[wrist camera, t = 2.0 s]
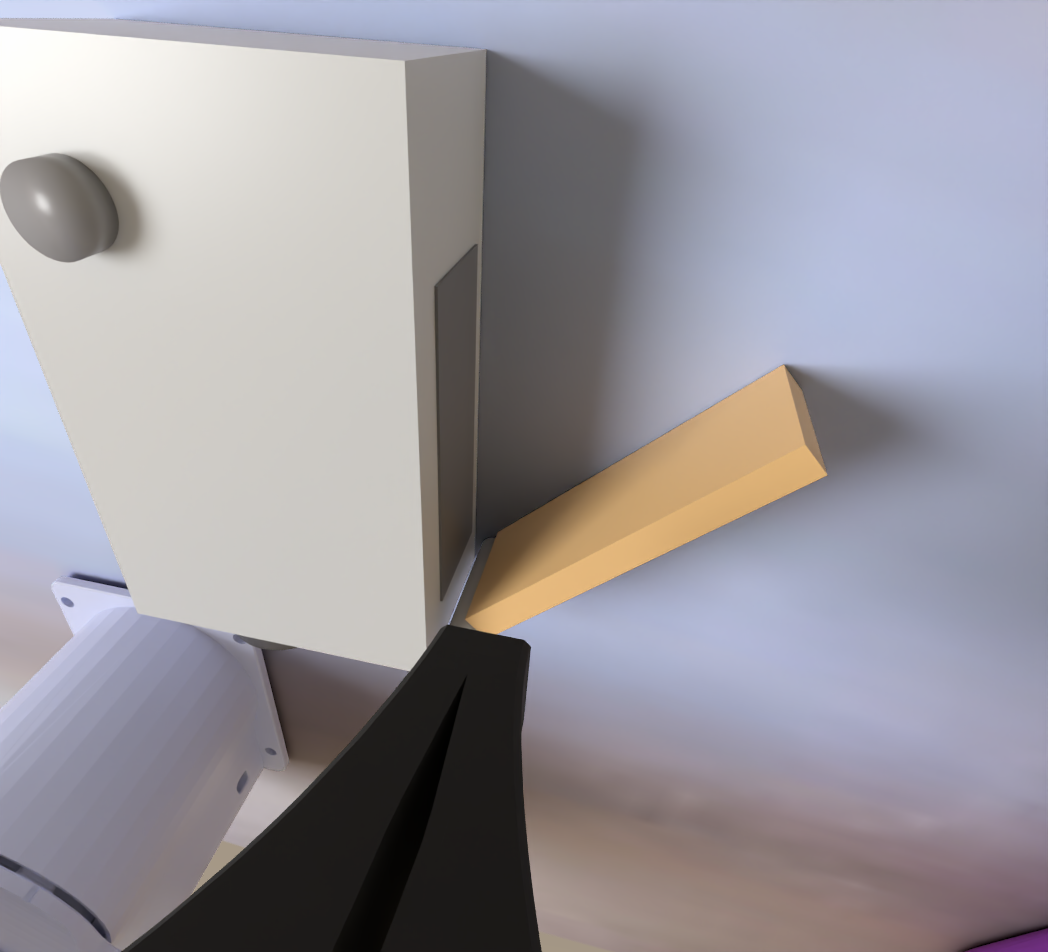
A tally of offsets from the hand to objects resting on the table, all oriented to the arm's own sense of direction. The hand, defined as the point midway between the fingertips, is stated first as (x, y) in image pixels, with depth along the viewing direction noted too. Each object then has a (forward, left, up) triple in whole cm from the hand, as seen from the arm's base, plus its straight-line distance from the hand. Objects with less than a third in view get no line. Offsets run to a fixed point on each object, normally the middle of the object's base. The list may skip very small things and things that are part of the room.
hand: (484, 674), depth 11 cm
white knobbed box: (+1, +6, -8) cm, 10 cm away
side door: (-1, -2, -8) cm, 8 cm away
